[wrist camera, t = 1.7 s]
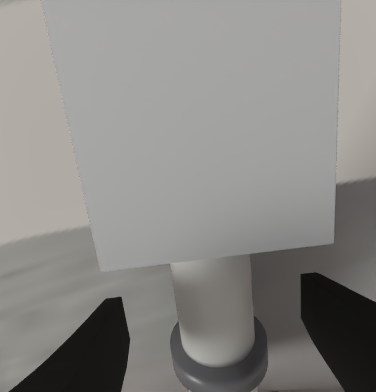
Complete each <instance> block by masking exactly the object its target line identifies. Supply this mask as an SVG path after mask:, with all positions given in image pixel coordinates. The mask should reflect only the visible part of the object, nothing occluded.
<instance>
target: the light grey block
mask: <svg viewBox="0 0 376 392" xmlns="http://www.w3.org/2000/svg"><path fill="white" fill-rule="evenodd" d="M41 5H42V9H43V13H44V18H45V23H46V27H47V31H48V36H49V41H50V46H51V50H52V55H53V59H54V63H55V68H56V73H57V77H58V81H59V86H60V90H61V95H62V100H63V104H64V109H65V113H66V118H67V122H68V127H69V131H70V136H71V140H72V145H73V149H74V154H75V158H76V163H77V168H78V172H79V177H80V181H81V186H82V190H83V195H84V199H85V204H86V208H87V213H88V217H89V222H90V226H91V231H92V235H93V240H94V244H95V249H96V254H97V258H98V263H99V267H100V272H104V271H112V270H121V269H129V268H137V267H145V266H154V265H162V264H170V263H178V262H186V261H195V260H203V259H211V258H219V257H228V256H236V255H244V254H252V253H261V252H269V251H277V250H285V249H293V248H302V247H310V246H318V245H326V244H334V222H335V188H336V155H337V152H336V151H337V121H338V88H339V54H340V53H339V52H340V21H341V0H41Z"/></svg>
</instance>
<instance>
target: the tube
mask: <svg viewBox="0 0 376 392" xmlns="http://www.w3.org/2000/svg"><path fill="white" fill-rule="evenodd" d="M170 265H171V272H172V279H173V286H174V293H175V299H176V306H177V313H178V320H179V321H178V323H177V324H176V325H175V327H174V329H173V331H172V334H171V339H170V346H171V353H172V359H173V365H174V370H175V373H176V375H177V377H178V379H179V380H180V382H181V383H182V384H183V385H184V386H185V387H186V388H187V389H188V390H189V392H258V385H259V384H260V382H261V381H262V379H263V378H264V376H265V373H266V371H267V366H268V349H267V336H266V332H265V329H264V327H263V326H262V324H261V323H260V321H259V320H258V319H257V318H256V317H255V316H254V315H253V298H252V281H251V264H250V254H244V255H236V256H228V257H219V258H211V259H203V260H195V261H186V262H178V263H170Z"/></svg>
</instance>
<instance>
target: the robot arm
mask: <svg viewBox="0 0 376 392" xmlns="http://www.w3.org/2000/svg"><path fill="white" fill-rule="evenodd" d="M301 319H302V321H303V323H304V325H305V327H306V329H307V331H308V333H309V335H310V337H311V339H312V341H313V343H314V345H315V346H316V348H317V349H318V351H319V352H320V354H321V355H322V357H323V359H324V360H325V362H326V363H327V365H328V366H329V368H330V369H331V371H332V372H333V374H334V375H335V377H336V378H337V380H338V381H339V383H340V384H341V386H342V387H343V389H344V391H345V392H376V302H374V301H372V300H370V299H368V298H366V297H364V296H362V295H360V294H358V293H356V292H354V291H352V290H350V289H348V288H346V287H344V286H343V285H341V284H339V283H337V282H335V281H333V280H331V279H329V278H327V277H325V276H323V275H321V274H319V273H316V272H314V273H307V274H301ZM129 344H130V337H129V332H128V327H127V322H126V317H125V312H124V308H123V303H122V298H121V297H116V298H108V299H105V300H104V301H103V302H102V303H101V304H100V305H99V307H98V308H97V309H96V310H95V311H94V312H93V313H92V314H91V315H90V316H89V317H88V319H87V320H86V321H85V322H84V323H83V324H82V325H81V326H80V327H79V328H78V329H77V330H76V331H75V332H74V333H73V334H72V336H71V337H70V338H68V339H67V340H66V341H65V342H64V343H63V344H62V345H61V346H60V347H59V348H58V349H57V350H56V351H55V352H54V353H53V354H52V355H51V356H50V357H49V358H48V359H47V360H46V361H45V362H44V363H42V364H41V365H40V366H39V367H38V368H37V369H36V370H35V371H33V372H32V373H31V374H30V375H29V376H27V377H26V378H25V379H24V380H23V381H21V382H20V383H19V384H18V385H17V386H15V387H14V388H13V389H12V390H10V391H9V392H121V389H122V385H123V381H124V376H125V372H126V368H127V361H128V353H129Z"/></svg>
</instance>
